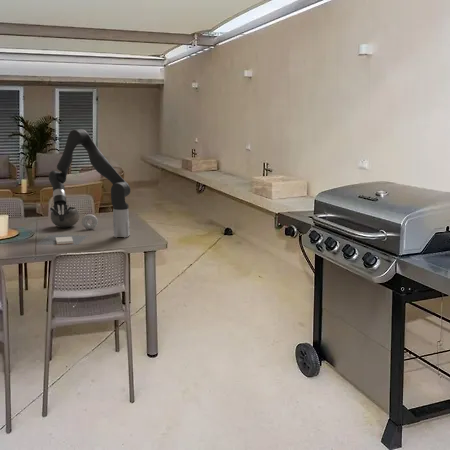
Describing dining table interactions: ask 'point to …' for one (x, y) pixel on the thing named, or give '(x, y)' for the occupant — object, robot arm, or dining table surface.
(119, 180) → the robot arm
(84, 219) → the donut
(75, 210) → the bowl
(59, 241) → the tile
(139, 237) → the dining table surface
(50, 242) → the mat
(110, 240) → the dining table surface
